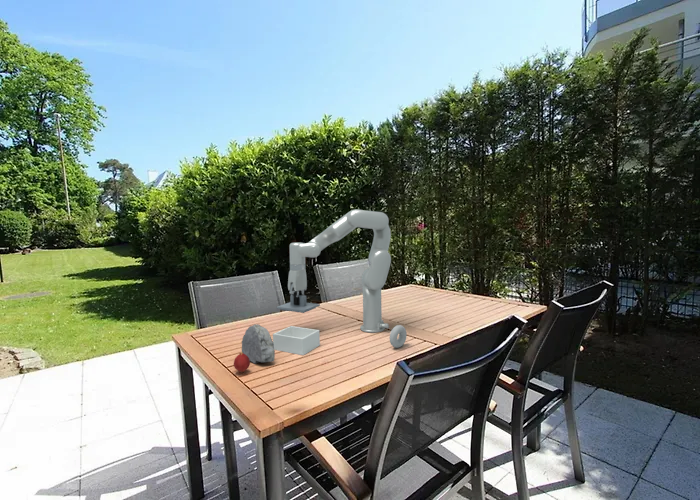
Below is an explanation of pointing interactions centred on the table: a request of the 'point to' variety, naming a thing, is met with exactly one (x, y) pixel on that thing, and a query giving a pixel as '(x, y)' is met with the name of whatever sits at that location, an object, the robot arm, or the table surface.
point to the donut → (394, 335)
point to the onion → (241, 362)
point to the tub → (296, 340)
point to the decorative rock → (258, 344)
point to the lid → (301, 307)
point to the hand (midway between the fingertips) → (298, 303)
